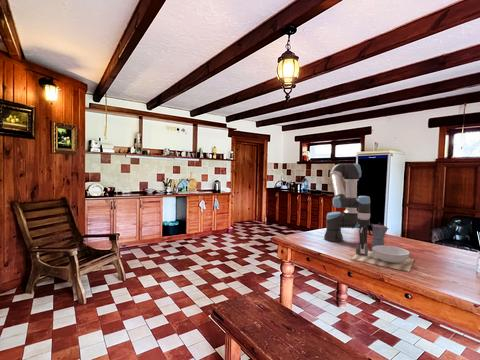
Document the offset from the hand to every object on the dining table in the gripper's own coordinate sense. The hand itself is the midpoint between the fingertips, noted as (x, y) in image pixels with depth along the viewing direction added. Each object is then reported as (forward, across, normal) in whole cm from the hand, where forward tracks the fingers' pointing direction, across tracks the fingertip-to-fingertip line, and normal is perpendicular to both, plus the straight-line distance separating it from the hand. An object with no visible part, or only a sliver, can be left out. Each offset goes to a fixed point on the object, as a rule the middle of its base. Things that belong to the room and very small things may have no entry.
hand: (363, 252), depth 173 cm
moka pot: (+2, +25, -4) cm, 25 cm away
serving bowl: (+2, 0, -16) cm, 16 cm away
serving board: (+2, 0, -12) cm, 12 cm away
